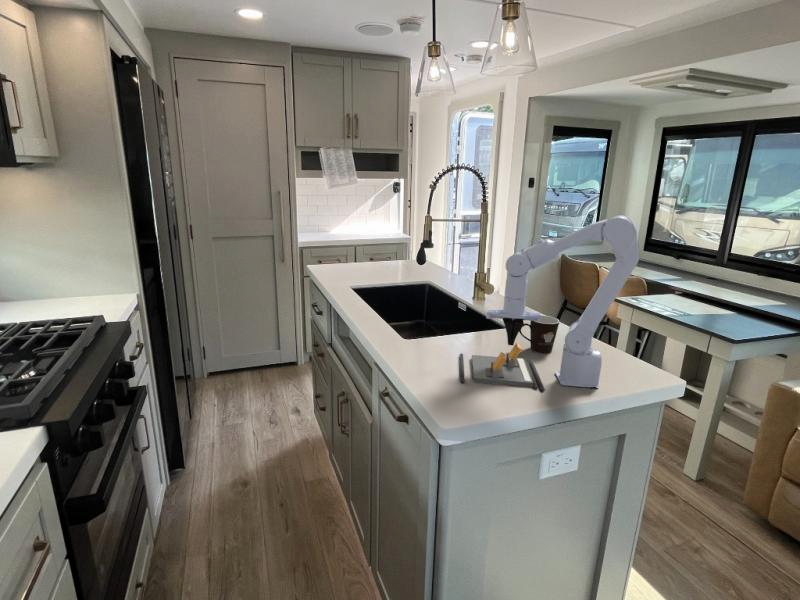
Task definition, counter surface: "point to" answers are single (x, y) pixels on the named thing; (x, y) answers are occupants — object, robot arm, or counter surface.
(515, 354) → the breaker lever
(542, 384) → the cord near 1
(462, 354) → the cord far
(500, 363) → the breaker lever
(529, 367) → the dark long thin strip
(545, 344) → the coffee mug
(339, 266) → the counter surface
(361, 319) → the counter surface
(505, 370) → the breaker panel
